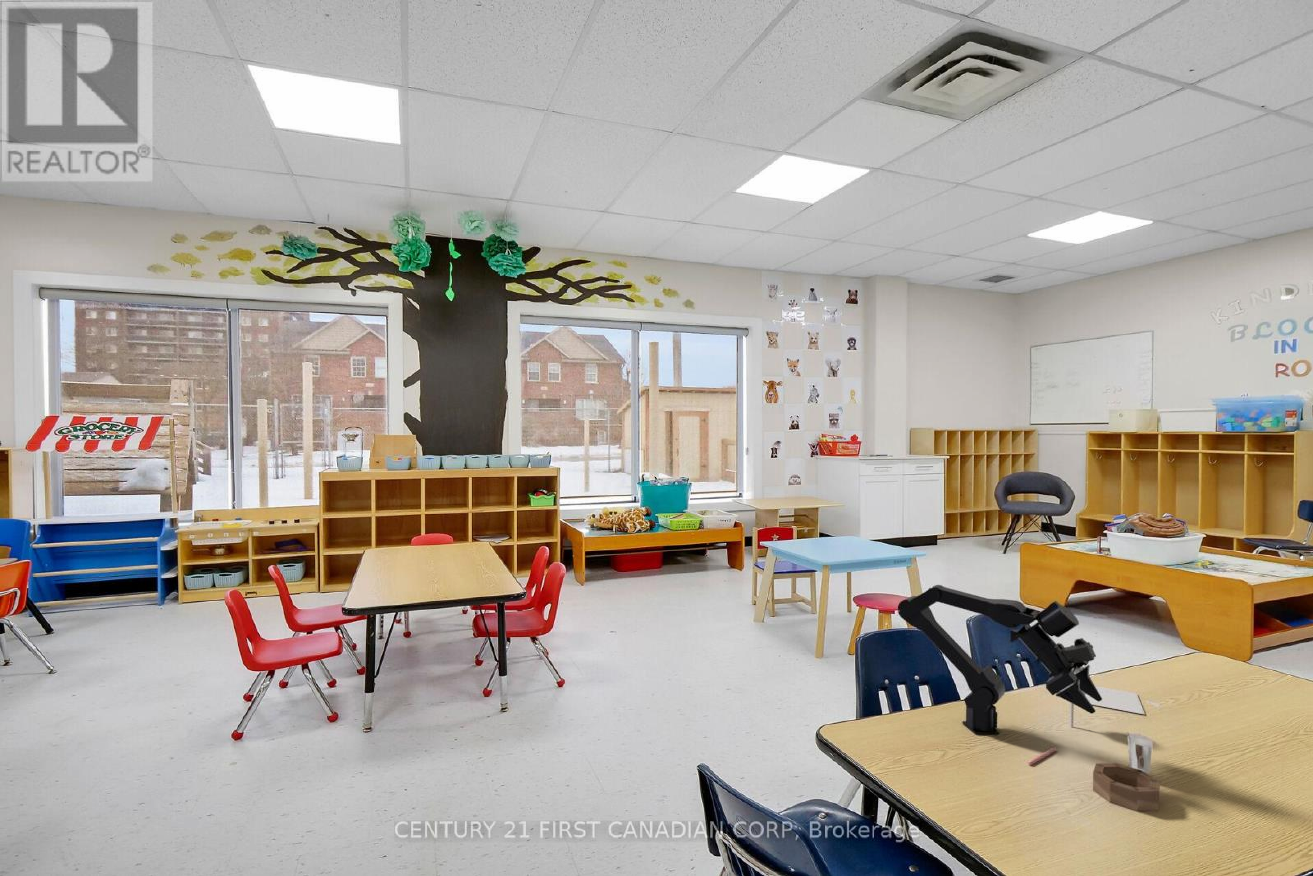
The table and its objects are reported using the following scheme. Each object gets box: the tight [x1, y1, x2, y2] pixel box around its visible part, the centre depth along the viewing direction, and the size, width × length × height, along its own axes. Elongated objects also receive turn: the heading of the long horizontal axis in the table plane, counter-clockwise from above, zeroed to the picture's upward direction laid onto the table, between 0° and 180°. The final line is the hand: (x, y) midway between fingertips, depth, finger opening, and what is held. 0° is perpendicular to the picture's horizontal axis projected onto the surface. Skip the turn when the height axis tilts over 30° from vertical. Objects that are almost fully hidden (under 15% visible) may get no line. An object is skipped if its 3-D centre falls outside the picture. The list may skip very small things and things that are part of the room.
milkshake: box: [1126, 731, 1154, 775], centre depth 142 cm, size 4×5×10 cm
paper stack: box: [1085, 685, 1161, 715], centre depth 178 cm, size 23×25×1 cm
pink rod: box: [1027, 747, 1057, 766], centre depth 150 cm, size 13×1×1 cm, turn 125°
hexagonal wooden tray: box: [1092, 762, 1161, 812], centre depth 134 cm, size 11×11×4 cm
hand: (1097, 706), depth 147 cm, fingers open, 9 cm apart
